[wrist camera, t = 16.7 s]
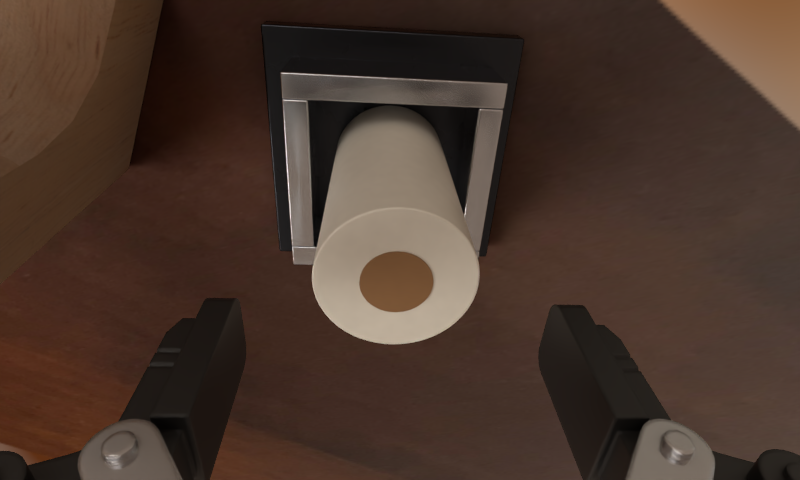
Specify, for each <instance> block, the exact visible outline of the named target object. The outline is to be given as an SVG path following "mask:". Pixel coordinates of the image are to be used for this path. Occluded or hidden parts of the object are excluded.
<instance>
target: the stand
mask: <svg viewBox="0 0 800 480" xmlns="http://www.w3.org/2000/svg"><path fill="white" fill-rule="evenodd" d="M261 32H262V44H263V56H264V68H265V80H266V92H267V104H268V116H269V128H270V140H271V153H272V165H273V177H274V189H275V201H276V213H277V225H278V237H279V249H280V251H292V258H293V264H295V265H313V264H314V259H315V254H316V249H317V244H318V239H319V234H320V229H321V224H322V219H323V214H324V209H325V204H326V199H327V194H328V189H329V185H330V180H331V175H332V170H333V165H334V160H335V155H336V150H337V145H338V141H339V138H340V136H341V134H342V132H343V130H344V129H345V127H346V126H347V125H348V124H349V123H350V122H351V120H353V119H354V118H355V117H356V116H357V115H359V114H361V113H362V112H364V111H366V110H369V109H371V108H375V107H379V106H390V105H392V106H400V107H404V108H408V109H410V110H413V111H415V112H416V113H418V114H420V115H421V116H422V117H424V118H425V119H426V120H427V121H428V122H429V123H430V124H431V125H432V127H433V128H434V129H435V131H436V133H437V135H438V137H439V140H440V143H441V146H442V149H443V152H444V155H445V158H446V161H447V164H448V168H449V171H450V174H451V177H452V180H453V183H454V186H455V189H456V192H457V195H458V199H459V202H460V205H461V208H462V211H463V214H464V217H465V220H466V223H467V227H468V230H469V233H470V236H471V239H472V242H473V245H474V248H475V251H476V254H477V258H478V259H479V256H486V253H487V247H488V242H489V236H490V231H491V225H492V219H493V214H494V208H495V202H496V197H497V191H498V185H499V180H500V174H501V168H502V163H503V157H504V151H505V146H506V140H507V134H508V129H509V123H510V118H511V112H512V106H513V101H514V95H515V89H516V84H517V78H518V72H519V67H520V61H521V55H522V50H523V44H524V39H523V38H521V37H520V36H518V35H503V34H486V33H468V32H450V31H433V30H415V29H397V28H379V27H362V26H344V25H326V24H309V23H291V22H273V21H266V22H264V23H263V24H261Z"/></svg>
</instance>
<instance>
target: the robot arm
mask: <svg viewBox="0 0 800 480" xmlns="http://www.w3.org/2000/svg"><path fill="white" fill-rule="evenodd" d="M245 359H246V342H245V335H244V328H243V321H242V314H241V307H240V302H239V300H238V299H237V298H206V299H205V300H204V302H203V304H202V306H201V308H200V311H199V313H198V315H197V317H196V318H183V319H181V320H180V321H179V322H178V323H177V324H176V325H175V326H173V327H172V328H171V329H170V330H169V331H168V332H166V334H165V336H164V338H163V340H162V342H161V343H160V345H159V347H158V349H157V353H155V355H154V356H153V358H152V360H151V362H150V367H148V368H147V370H146V371H145V373H144V375H143V377H142V379H141V381H140V383H139V384H138V386H137V388H136V390H135V392H134V394H133V396H132V397H131V399H130V401H129V403H128V405H127V407H126V409H125V411H124V412H123V414H122V416H121V418H120V420H119V421H118V422H116V423H114V424H111V425H109V426H107V427H106V428H104V429H102V430H101V431H99V432H98V433H97V434H95V435H94V436H93V437H92V438H91V439H90V440H89V441H88V442H87V443H86V445H85V446H84V447H83V449H82V450H80V451H78V452H75V453H72V454H69V455H65V456H61V457H58V458H54V459H51V460H47V461H43V462H39V463H35V464H32V465H28V466H27V464H26V462H25V460H24V459H23V457H22V456H20V455H19V454H17V453H15V452H10V451H0V480H210V477H211V474H212V470H213V467H214V464H215V461H216V457H217V454H218V451H219V448H220V444H221V441H222V438H223V435H224V431H225V428H226V425H227V422H228V418H229V415H230V412H231V409H232V405H233V402H234V399H235V396H236V392H237V389H238V386H239V383H240V379H241V376H242V373H243V370H244V365H245ZM539 367H540V371H541V374H542V376H543V379H544V381H545V384H546V387H547V389H548V392H549V394H550V397H551V399H552V402H553V404H554V407H555V410H556V412H557V415H558V417H559V420H560V422H561V425H562V427H563V430H564V433H565V435H566V438H567V440H568V443H569V445H570V448H571V450H572V453H573V456H574V458H575V461H576V463H577V466H578V468H579V471H580V473H581V476H582V479H583V480H800V456H799V455H797V454H795V453H792V452H789V451H785V450H779V449H771V450H767V451H765V452H763V453H762V454H761V455H760V456H759V458H758V459H757V461H756V462H755V463H753V462H750V461H746V460H742V459H739V458H735V457H731V456H728V455H724V454H720V453H717V452H714V451H711V449H710V447H709V446H708V445H707V443H706V442H705V441H704V440H703V439H702V438H701V437H700V436H699V435H698V434H697V433H695V432H694V431H693V430H691V429H690V428H688V427H686V426H684V425H682V424H680V423H678V422H675V421H671V419H670V418H669V416H668V415H667V413H666V411H665V410H664V408H663V407H662V405H661V403H660V402H659V400H658V399H657V397H656V395H655V394H654V392H653V391H652V389H651V387H650V386H649V384H648V383H647V381H646V379H645V378H644V376H643V375H642V373H641V371H638V367H637V365H636V363H635V362H634V360H633V359H632V358H630V354H629V352H628V351H627V349H626V347H625V346H624V344H623V343H622V341H621V339H620V338H618V337H617V336H616V335H615V334H614V333H613V332H611V331H610V330H609V329H608V328H607V327H605V326H604V325H596V324H595V323H594V321H593V319H592V318H591V316H590V314H589V312H588V311H587V309H586V308H585V307H584V306H583V305H553V306H552V307H551V309H550V311H549V315H548V318H547V322H546V325H545V329H544V333H543V336H542V340H541V343H540V347H539Z"/></svg>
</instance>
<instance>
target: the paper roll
mask: <svg viewBox="0 0 800 480" xmlns="http://www.w3.org/2000/svg"><path fill="white" fill-rule="evenodd" d="M479 277H480V270H479V262H478V258H477V254H476V251H475V248H474V245H473V242H472V239H471V236H470V233H469V230H468V227H467V223H466V220H465V217H464V214H463V211H462V208H461V205H460V202H459V199H458V195H457V192H456V189H455V186H454V183H453V180H452V177H451V174H450V171H449V168H448V164H447V161H446V158H445V155H444V152H443V149H442V146H441V143H440V140H439V137H438V135H437V133H436V131H435V129H434V128H433V127H432V125H431V124H430V123H429V122H428V121H427V120H426V119H425V118H424V117H422V116H421V115H420V114H418V113H416V112H415V111H413V110H410V109H408V108H404V107H400V106H392V105H390V106H379V107H375V108H371V109H369V110H366V111H364V112H362V113H361V114H359V115H357V116H356V117H355V118H354V119H353V120H351V122H350V123H349V124H348V125H347V126H346V127H345V129H344V130H343V132H342V134H341V136H340V138H339V141H338V145H337V150H336V155H335V160H334V165H333V170H332V175H331V180H330V185H329V189H328V194H327V199H326V204H325V209H324V214H323V219H322V224H321V229H320V234H319V239H318V244H317V249H316V254H315V259H314V264H313V269H312V284H313V290H314V293H315V297H316V299H317V301H318V303H319V305H320V307H321V308H322V310H323V311H324V313H325V314H326V315H327V316H328V318H329V319H330V320H331V321H332V322H333V323H335V324H336V325H337V326H338V327H340V328H341V329H343V330H344V331H346V332H347V333H349V334H351V335H353V336H355V337H358V338H361V339H363V340H367V341H371V342H376V343H382V344H405V343H413V342H417V341H421V340H424V339H427V338H430V337H433V336H435V335H437V334H439V333H441V332H443V331H444V330H446V329H448V328H449V327H450V326H452V325H453V324H454V323H456V322H457V321H458V320H459V319H460V318H461V317H462V316H463V315H464V313H465V312H466V311H467V310H468V308H469V307H470V305H471V303H472V302H473V300H474V297H475V295H476V292H477V289H478V285H479Z"/></svg>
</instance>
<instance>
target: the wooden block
mask: <svg viewBox="0 0 800 480" xmlns="http://www.w3.org/2000/svg"><path fill="white" fill-rule="evenodd" d="M162 4H163V0H0V284H1V283H2V282H3V281H4V280H6V279H7V278H8V277H9V276H10V275H11V274H12V273H13V272H15V271H16V270H17V269H18V268H19V267H20V266H21V265H22V264H23V263H25V262H26V261H27V260H28V259H29V258H30V257H31V256H32V255H33V254H35V253H36V252H37V251H38V250H39V249H40V248H41V247H42V246H43V245H45V244H46V243H47V242H48V241H49V240H50V239H51V238H52V237H53V236H55V235H56V234H57V233H58V232H59V231H60V230H61V229H62V228H63V227H65V226H66V225H67V224H68V223H69V222H70V221H71V220H72V219H73V218H75V217H76V216H77V215H78V214H79V213H80V212H81V211H82V210H84V209H85V208H86V207H87V206H88V205H89V204H90V203H91V202H93V201H94V200H95V199H96V198H97V197H98V196H99V195H100V194H101V193H103V192H104V191H105V190H106V189H107V188H108V187H109V186H110V185H112V184H113V183H114V182H115V181H116V180H117V179H118V178H119V177H120V176H122V175H123V174H124V173H125V172H126V171H127V170H128V169H129V165H130V160H131V155H132V151H133V146H134V141H135V136H136V131H137V126H138V121H139V117H140V112H141V107H142V102H143V97H144V92H145V88H146V83H147V78H148V73H149V68H150V63H151V58H152V53H153V48H154V43H155V38H156V34H157V29H158V24H159V19H160V14H161V9H162Z"/></svg>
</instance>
